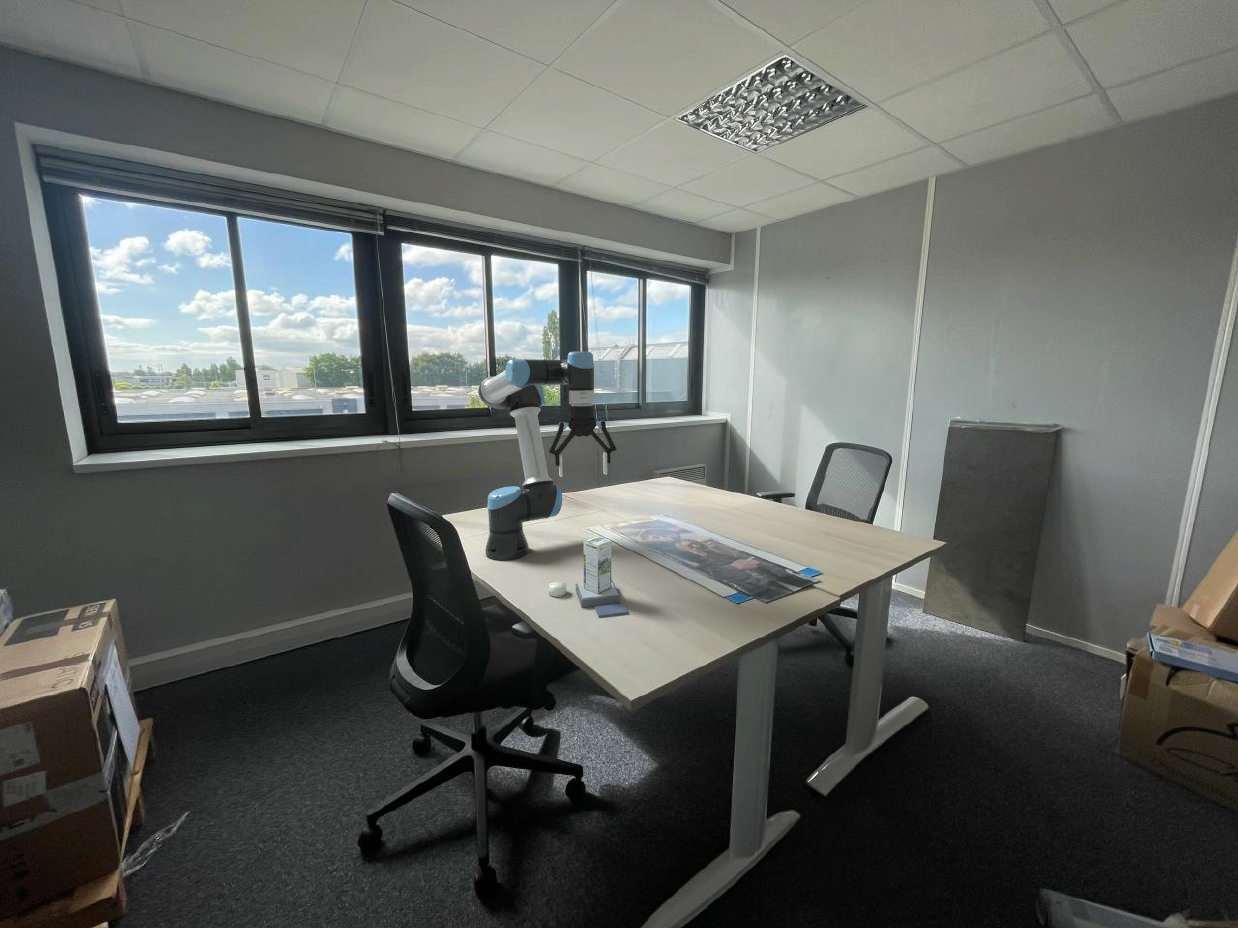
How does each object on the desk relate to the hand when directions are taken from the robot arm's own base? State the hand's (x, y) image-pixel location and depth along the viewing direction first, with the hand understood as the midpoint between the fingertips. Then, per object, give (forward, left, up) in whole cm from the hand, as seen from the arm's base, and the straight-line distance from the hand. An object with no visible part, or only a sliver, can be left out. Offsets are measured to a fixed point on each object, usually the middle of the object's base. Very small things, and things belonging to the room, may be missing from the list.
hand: (583, 475), depth 147 cm
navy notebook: (+24, +3, -33) cm, 41 cm away
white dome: (+10, -10, -33) cm, 36 cm away
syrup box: (+15, +1, -30) cm, 34 cm away
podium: (+15, +1, -33) cm, 36 cm away
